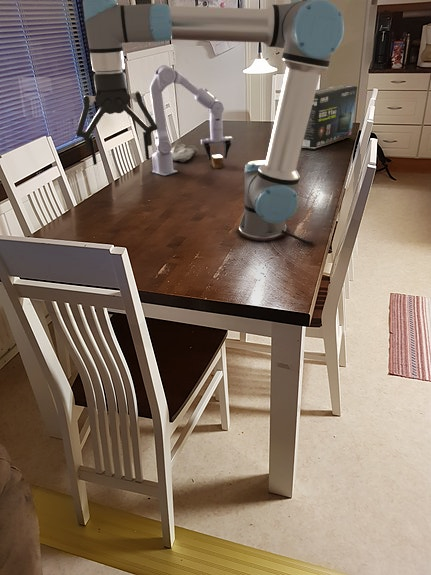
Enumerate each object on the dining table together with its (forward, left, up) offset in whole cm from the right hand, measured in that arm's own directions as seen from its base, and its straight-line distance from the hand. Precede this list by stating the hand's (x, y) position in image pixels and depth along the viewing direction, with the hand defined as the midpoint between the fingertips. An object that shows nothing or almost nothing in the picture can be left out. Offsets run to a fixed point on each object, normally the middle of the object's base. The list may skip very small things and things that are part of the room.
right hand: (121, 161), depth 120 cm
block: (+25, -93, -30) cm, 101 cm away
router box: (-6, -153, -30) cm, 156 cm away
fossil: (+51, -98, -30) cm, 114 cm away
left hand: (+25, -93, -26) cm, 100 cm away
